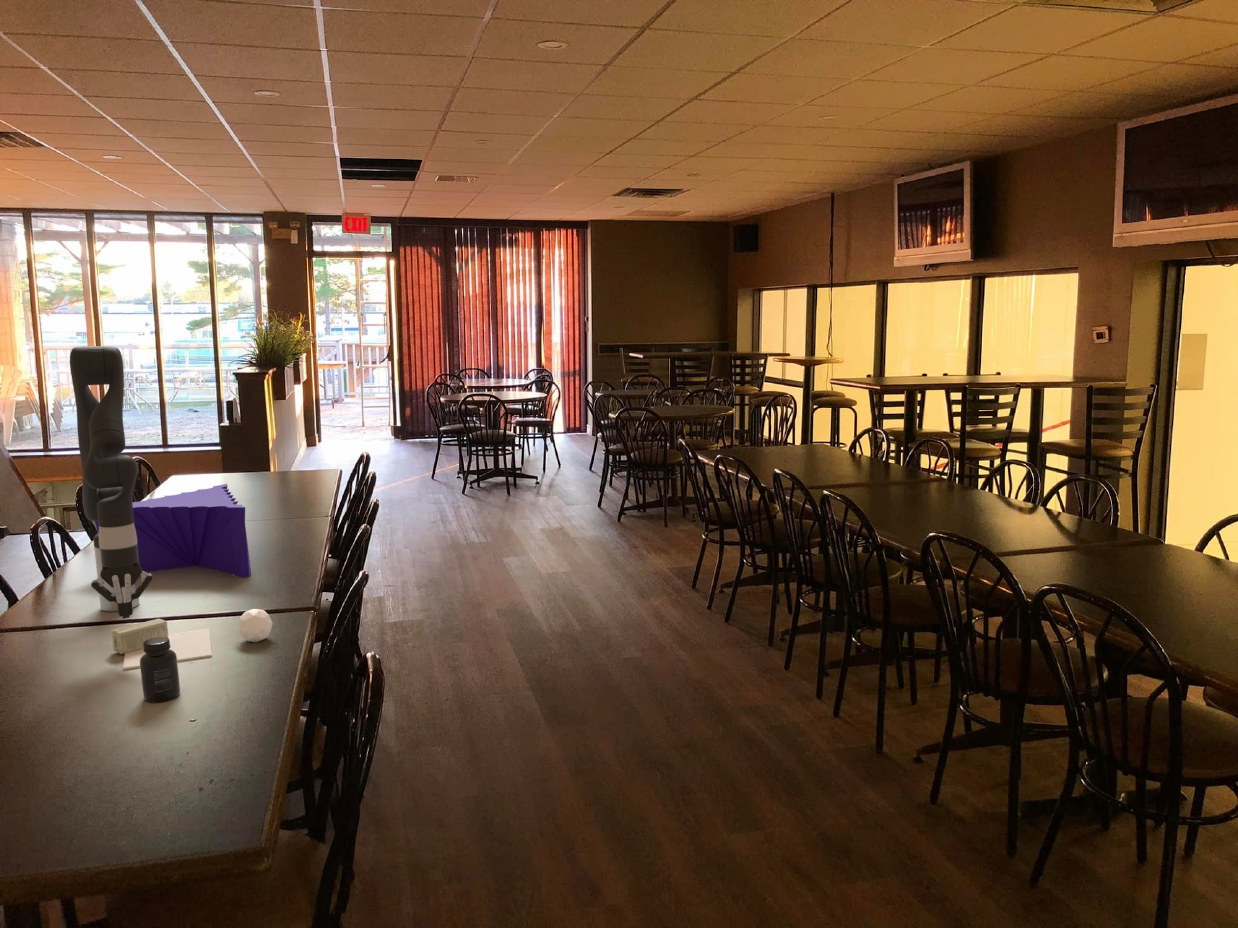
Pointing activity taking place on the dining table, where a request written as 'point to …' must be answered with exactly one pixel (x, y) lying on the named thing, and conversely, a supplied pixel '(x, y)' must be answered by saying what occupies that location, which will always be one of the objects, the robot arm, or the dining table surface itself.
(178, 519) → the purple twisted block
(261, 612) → the geometric ball
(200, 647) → the mat
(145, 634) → the box
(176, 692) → the supplement bottle
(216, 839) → the dining table surface
